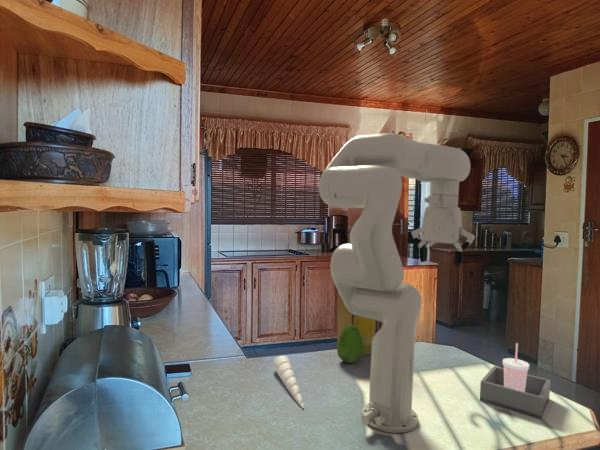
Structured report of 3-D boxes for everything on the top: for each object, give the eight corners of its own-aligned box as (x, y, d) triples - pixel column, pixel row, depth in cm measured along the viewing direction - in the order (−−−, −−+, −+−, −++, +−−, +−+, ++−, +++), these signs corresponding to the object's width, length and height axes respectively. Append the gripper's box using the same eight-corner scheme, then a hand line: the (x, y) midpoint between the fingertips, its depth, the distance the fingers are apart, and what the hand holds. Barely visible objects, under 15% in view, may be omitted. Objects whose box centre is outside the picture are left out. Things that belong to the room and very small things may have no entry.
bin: (540, 419, 96) (542, 398, 96) (479, 400, 105) (480, 381, 104) (549, 398, 107) (550, 380, 107) (493, 383, 115) (494, 365, 115)
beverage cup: (503, 389, 110) (506, 337, 109) (529, 396, 106) (532, 343, 105) (497, 396, 105) (501, 343, 104) (524, 404, 101) (528, 349, 101)
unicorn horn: (287, 411, 96) (288, 391, 96) (272, 371, 119) (273, 355, 119) (307, 410, 97) (308, 390, 97) (288, 370, 120) (289, 354, 120)
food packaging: (376, 354, 135) (379, 279, 134) (349, 356, 132) (352, 279, 131) (360, 341, 148) (363, 272, 146) (335, 342, 145) (338, 272, 144)
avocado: (354, 369, 122) (356, 329, 121) (331, 362, 126) (333, 324, 126) (366, 361, 129) (367, 323, 128) (343, 355, 133) (345, 318, 132)
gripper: (408, 201, 116) (405, 261, 117) (472, 202, 105) (468, 268, 106) (418, 201, 122) (416, 259, 123) (480, 203, 111) (476, 265, 112)
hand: (440, 263), depth 114 cm, fingers open, 9 cm apart
